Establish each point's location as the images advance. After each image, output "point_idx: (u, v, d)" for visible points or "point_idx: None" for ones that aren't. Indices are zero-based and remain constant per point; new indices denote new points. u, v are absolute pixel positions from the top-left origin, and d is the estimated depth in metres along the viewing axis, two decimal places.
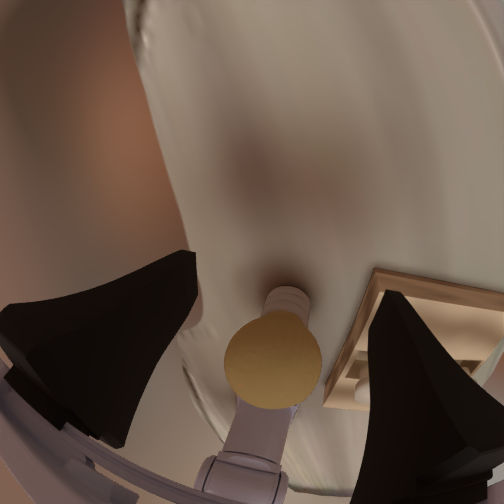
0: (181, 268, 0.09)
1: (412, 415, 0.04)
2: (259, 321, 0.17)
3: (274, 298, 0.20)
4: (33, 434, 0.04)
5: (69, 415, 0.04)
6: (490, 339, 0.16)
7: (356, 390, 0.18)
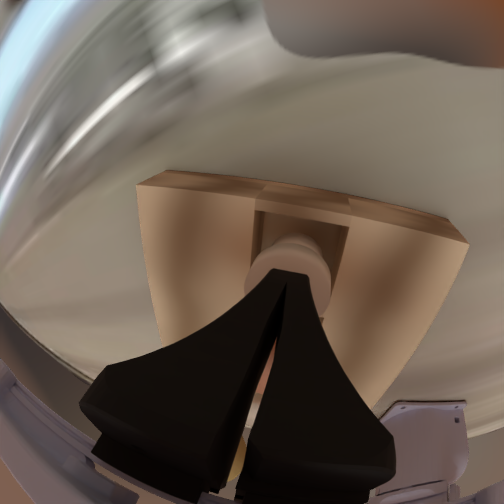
0: (284, 290, 0.08)
1: None
2: None
3: None
4: (32, 433, 0.04)
5: (204, 483, 0.04)
6: (194, 223, 0.12)
7: None
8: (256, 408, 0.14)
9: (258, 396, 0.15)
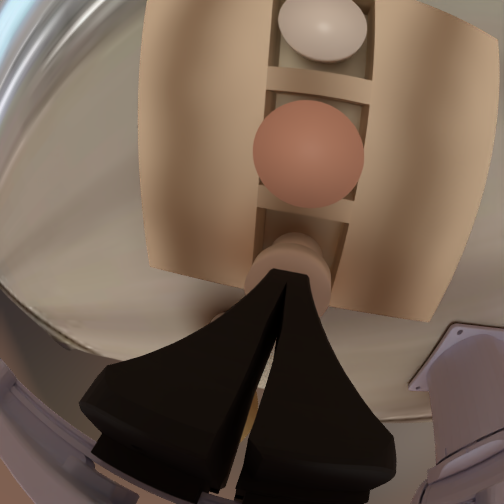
0: (284, 290, 0.08)
1: None
2: None
3: None
4: (32, 433, 0.04)
5: (204, 483, 0.04)
6: (206, 9, 0.08)
7: None
8: (282, 258, 0.09)
9: (284, 244, 0.10)
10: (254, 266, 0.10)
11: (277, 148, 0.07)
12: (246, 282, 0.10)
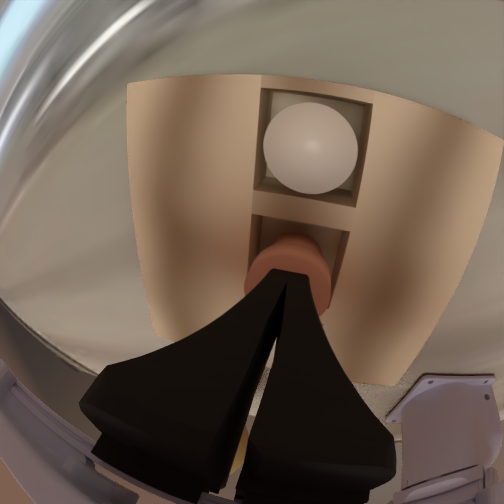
0: (284, 290, 0.08)
1: None
2: None
3: None
4: (32, 433, 0.04)
5: (204, 483, 0.04)
6: (189, 114, 0.09)
7: None
8: None
9: None
10: None
11: None
12: None
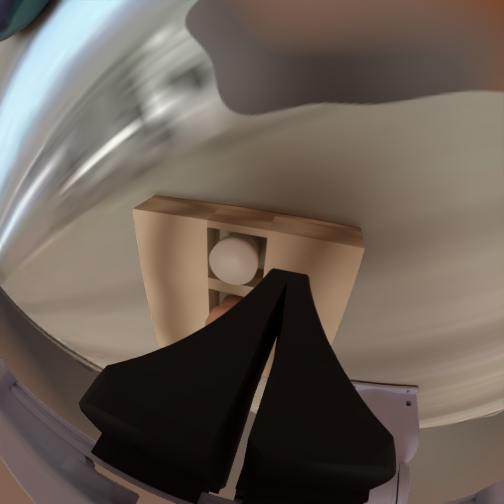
0: (284, 290, 0.08)
1: None
2: None
3: None
4: (32, 433, 0.04)
5: (204, 483, 0.04)
6: (171, 235, 0.19)
7: None
8: None
9: None
10: None
11: None
12: None
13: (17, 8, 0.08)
